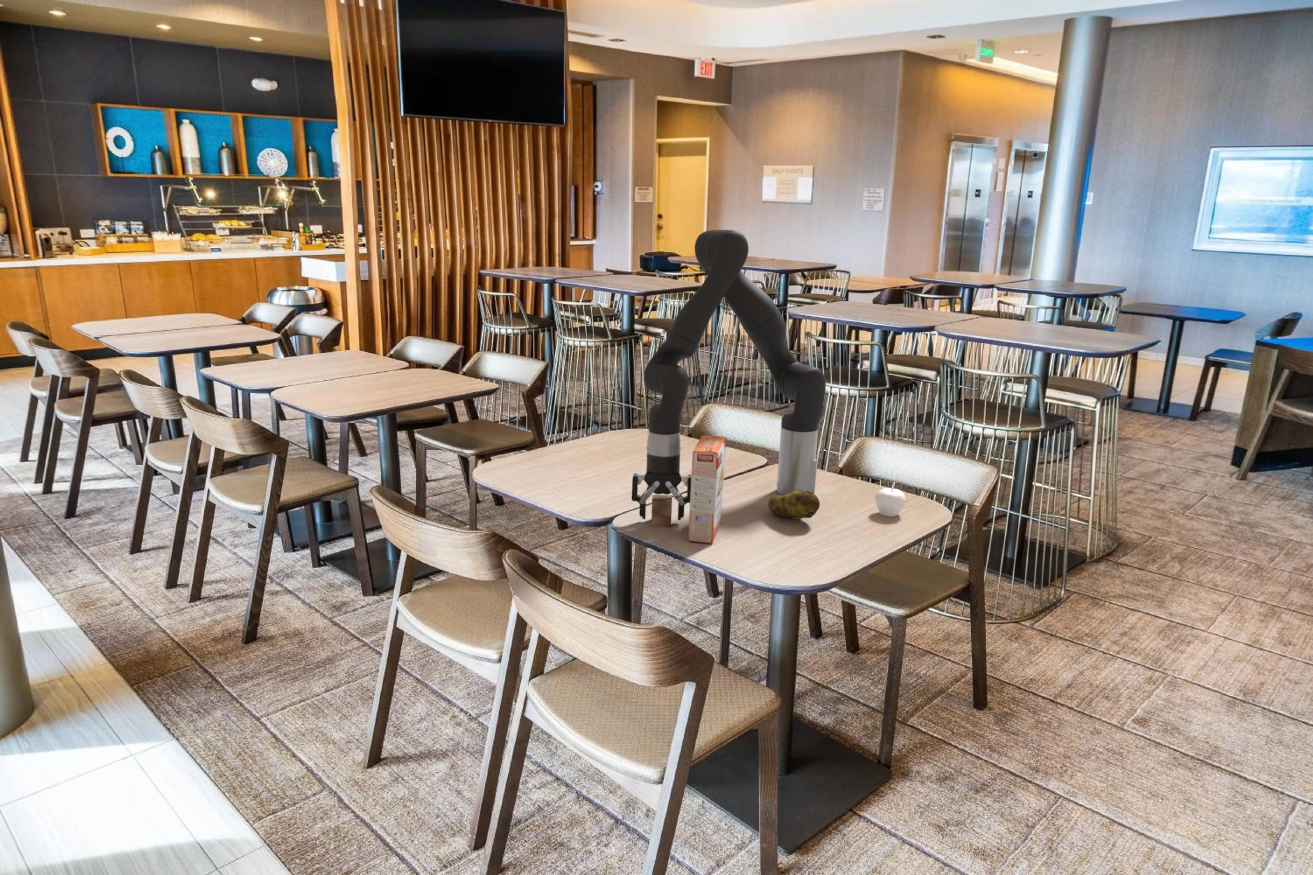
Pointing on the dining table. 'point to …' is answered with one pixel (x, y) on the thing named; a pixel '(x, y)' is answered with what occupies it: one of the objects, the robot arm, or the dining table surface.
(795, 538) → the dining table surface
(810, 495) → the potato
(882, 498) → the plain white apple
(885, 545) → the dining table surface
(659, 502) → the walnut block
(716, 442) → the cracker box
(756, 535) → the dining table surface
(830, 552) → the dining table surface
